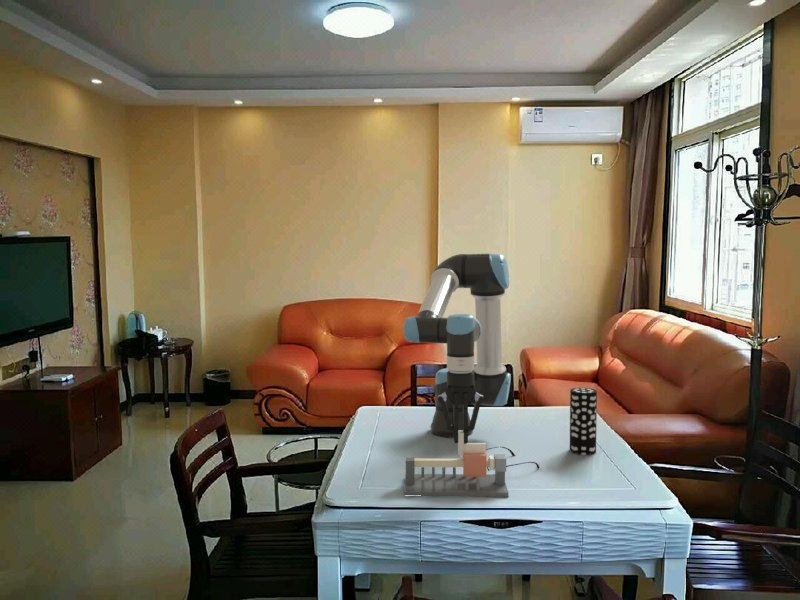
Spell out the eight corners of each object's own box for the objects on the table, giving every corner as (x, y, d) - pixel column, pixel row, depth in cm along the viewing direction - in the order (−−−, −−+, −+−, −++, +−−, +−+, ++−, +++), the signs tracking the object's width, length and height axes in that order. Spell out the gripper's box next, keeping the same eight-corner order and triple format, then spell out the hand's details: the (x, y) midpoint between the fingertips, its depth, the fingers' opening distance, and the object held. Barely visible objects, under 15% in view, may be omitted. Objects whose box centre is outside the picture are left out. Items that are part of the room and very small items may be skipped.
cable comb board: (404, 496, 179) (403, 467, 178) (405, 478, 193) (405, 451, 192) (508, 496, 178) (508, 467, 177) (502, 478, 192) (502, 451, 191)
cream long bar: (408, 471, 184) (408, 458, 183) (408, 466, 187) (408, 454, 187) (506, 471, 182) (506, 458, 182) (504, 466, 186) (504, 454, 186)
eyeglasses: (470, 462, 207) (470, 449, 207) (512, 455, 214) (512, 443, 213) (498, 479, 192) (498, 466, 192) (543, 471, 199) (543, 458, 198)
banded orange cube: (464, 477, 182) (464, 446, 181) (463, 469, 188) (463, 440, 187) (486, 477, 182) (486, 446, 181) (484, 469, 188) (484, 440, 187)
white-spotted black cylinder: (597, 455, 211) (598, 393, 210) (570, 454, 213) (570, 392, 211) (594, 447, 219) (595, 388, 218) (569, 446, 221) (569, 387, 219)
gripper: (437, 373, 179) (437, 458, 181) (485, 373, 179) (485, 458, 181) (436, 368, 187) (437, 450, 189) (483, 368, 186) (483, 450, 188)
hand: (460, 454), depth 185 cm, fingers closed
